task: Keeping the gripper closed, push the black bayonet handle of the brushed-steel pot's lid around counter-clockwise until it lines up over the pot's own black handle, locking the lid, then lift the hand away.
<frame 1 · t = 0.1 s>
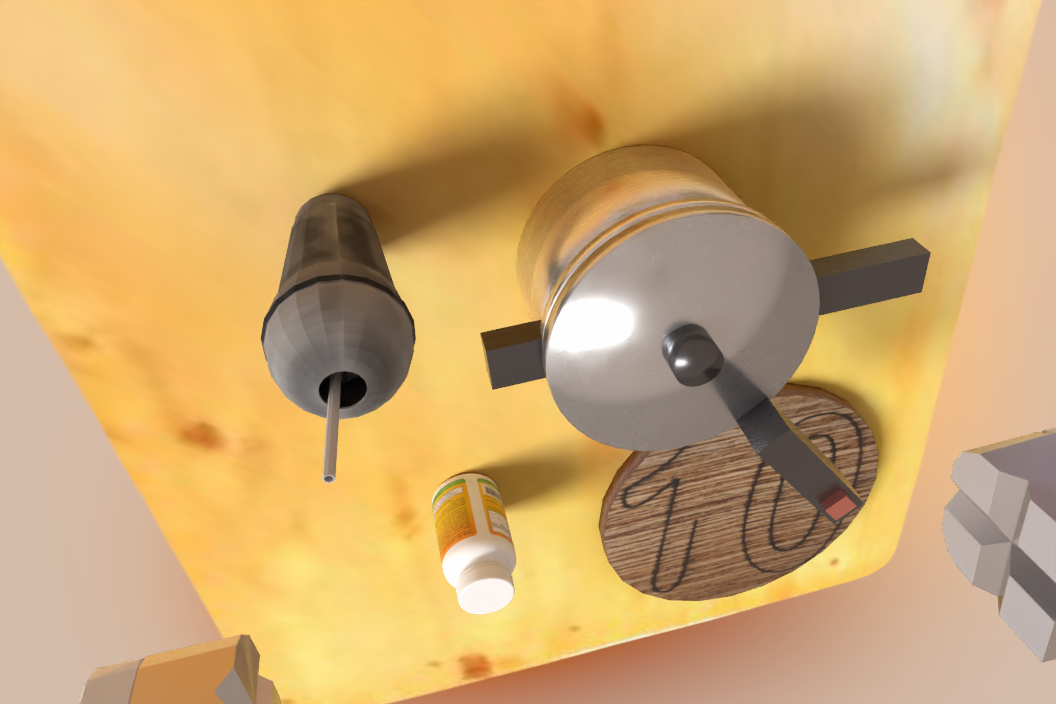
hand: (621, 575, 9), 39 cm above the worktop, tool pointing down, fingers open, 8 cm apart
supplement bottle: (464, 494, 64), on the worktop
lid: (739, 401, 47), point 12 cm above the worktop, hinge at -55.0°
beverage cup: (333, 227, 48), on the worktop
trivet: (732, 490, 72), on the worktop
pot: (627, 253, 54), on the worktop
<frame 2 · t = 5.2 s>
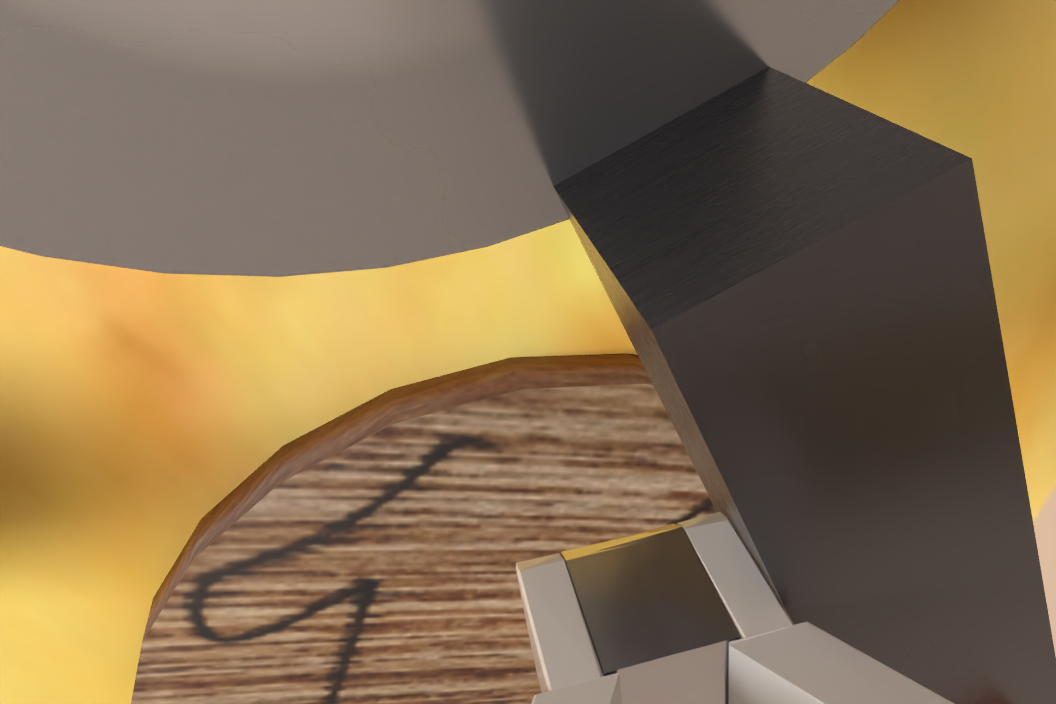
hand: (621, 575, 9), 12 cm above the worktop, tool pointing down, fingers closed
trivet: (529, 651, 28), on the worktop
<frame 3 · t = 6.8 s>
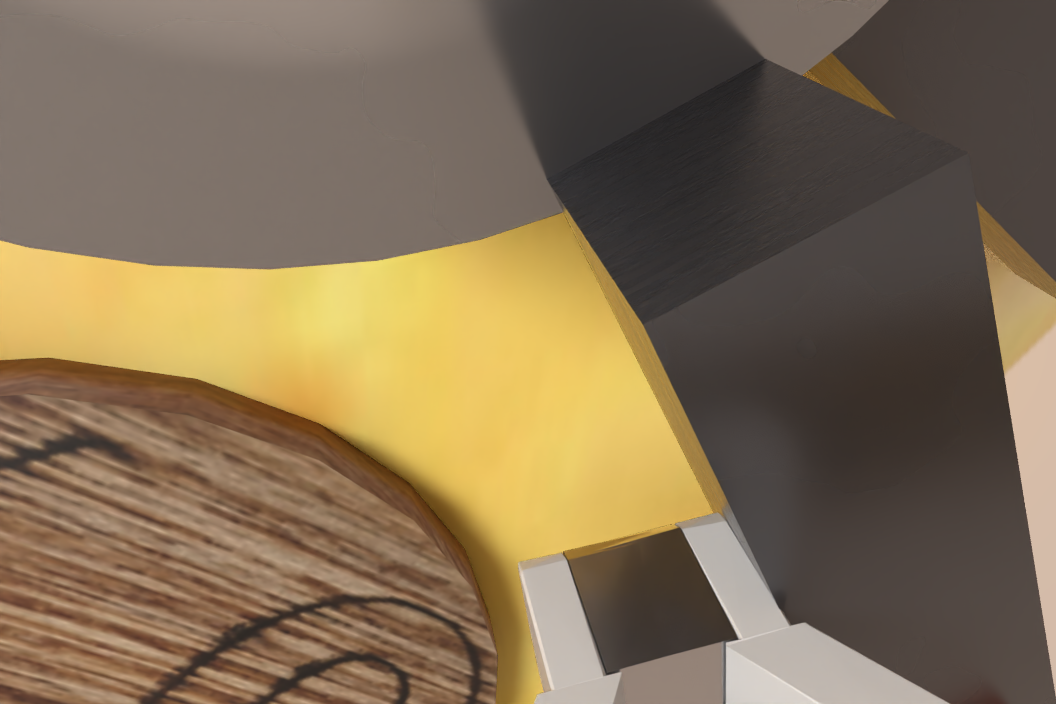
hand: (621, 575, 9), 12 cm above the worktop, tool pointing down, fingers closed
trivet: (96, 688, 25), on the worktop
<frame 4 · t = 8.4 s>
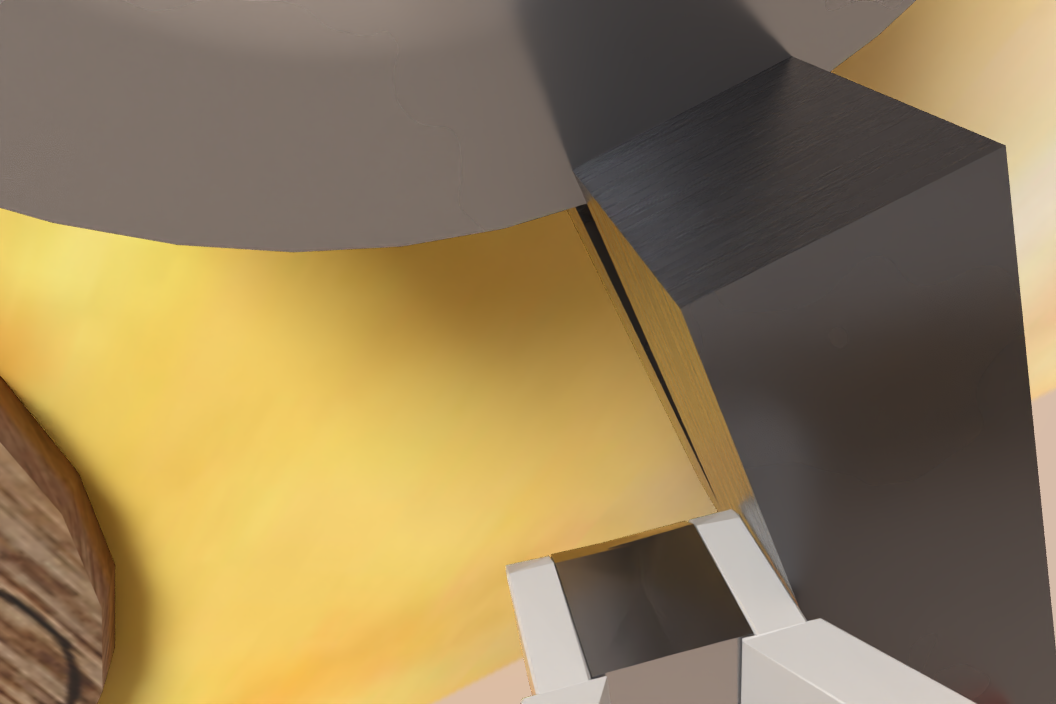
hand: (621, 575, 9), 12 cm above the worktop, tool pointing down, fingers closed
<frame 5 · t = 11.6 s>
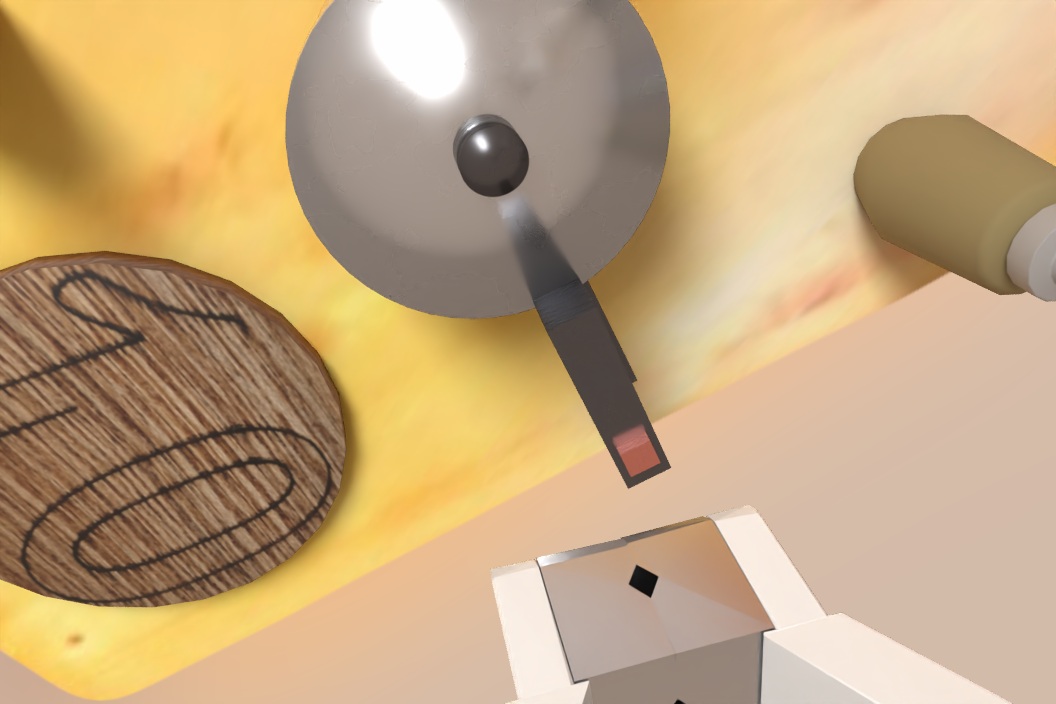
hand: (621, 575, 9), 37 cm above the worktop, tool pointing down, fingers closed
lid: (540, 256, 35), point 12 cm above the worktop, hinge at -1.4°
trivet: (136, 436, 50), on the worktop
squeeze bottle: (894, 163, 50), on the worktop
pot: (454, 89, 42), on the worktop
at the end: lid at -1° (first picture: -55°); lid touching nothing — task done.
